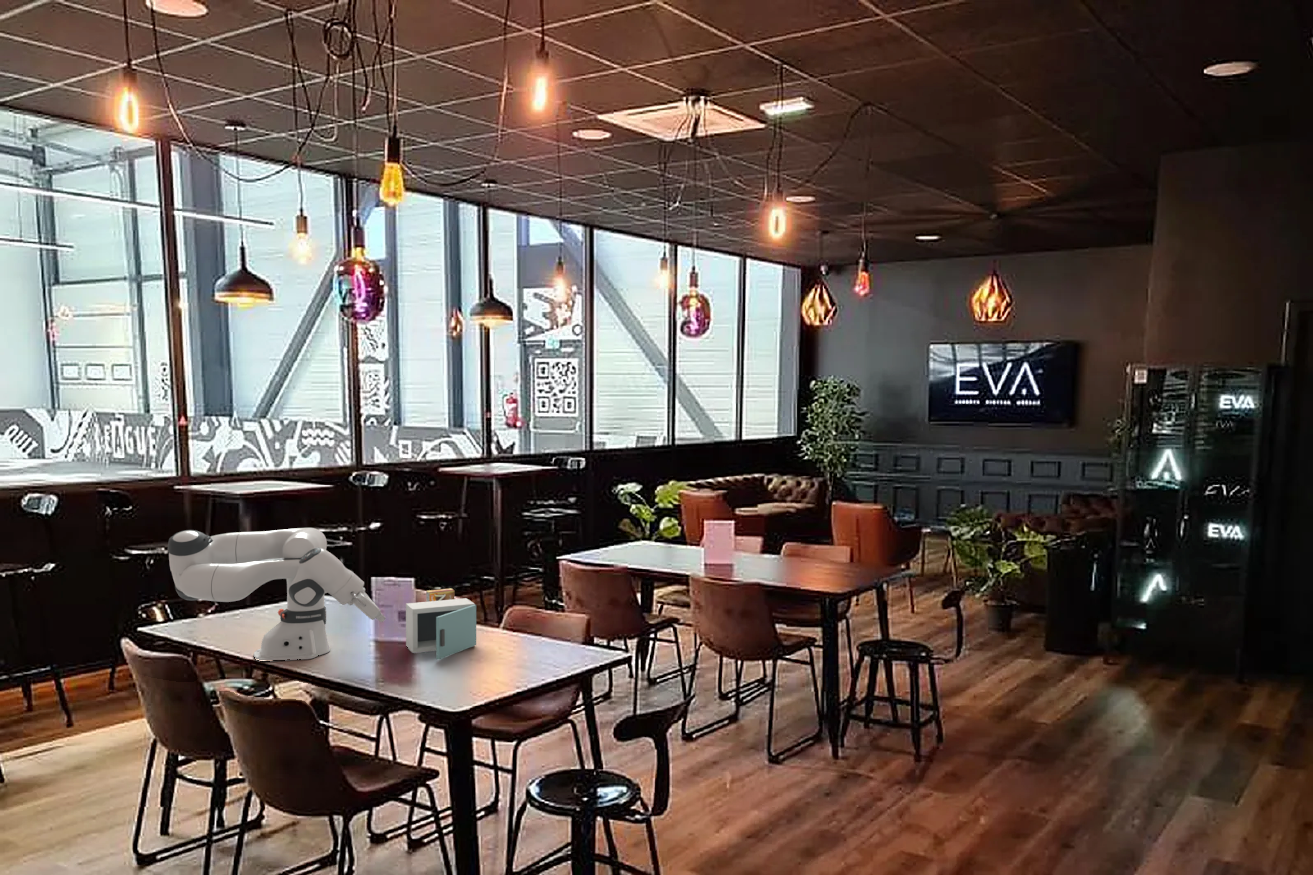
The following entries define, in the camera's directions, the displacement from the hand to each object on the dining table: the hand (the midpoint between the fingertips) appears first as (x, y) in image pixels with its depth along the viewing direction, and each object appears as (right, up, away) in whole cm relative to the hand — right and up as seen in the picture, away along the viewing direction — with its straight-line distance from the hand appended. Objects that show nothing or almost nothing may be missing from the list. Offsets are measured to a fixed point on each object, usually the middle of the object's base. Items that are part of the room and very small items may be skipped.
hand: (383, 619), depth 279 cm
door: (+19, -13, +15) cm, 28 cm away
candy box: (+8, -13, +41) cm, 44 cm away
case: (+11, -14, +25) cm, 31 cm away
